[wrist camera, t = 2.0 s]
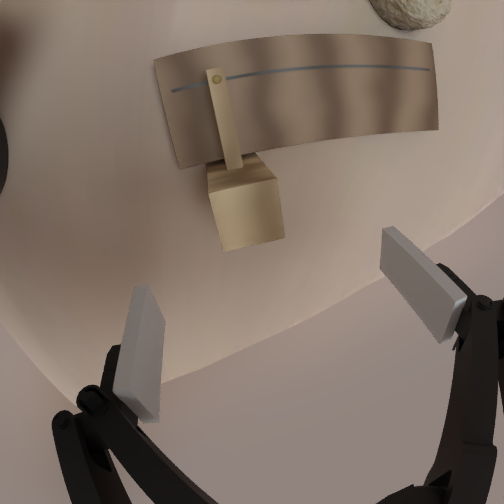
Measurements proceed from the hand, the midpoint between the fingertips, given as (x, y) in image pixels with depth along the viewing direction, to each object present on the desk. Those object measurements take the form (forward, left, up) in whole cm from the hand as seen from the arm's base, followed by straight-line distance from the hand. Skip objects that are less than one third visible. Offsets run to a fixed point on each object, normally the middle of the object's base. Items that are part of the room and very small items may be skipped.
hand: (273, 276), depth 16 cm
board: (+10, +9, -18) cm, 22 cm away
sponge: (+23, +20, -18) cm, 35 cm away
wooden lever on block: (0, +5, -18) cm, 18 cm away
